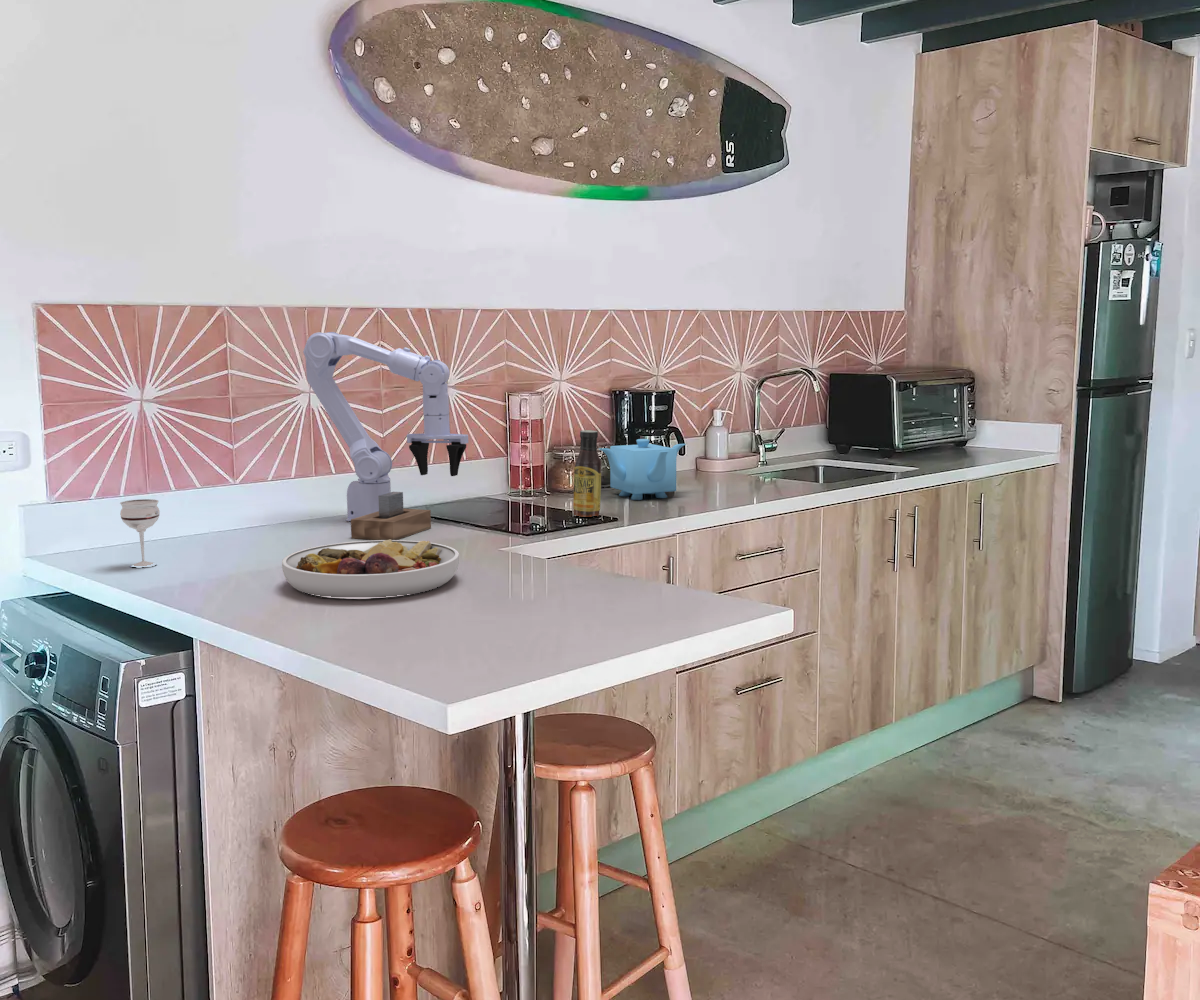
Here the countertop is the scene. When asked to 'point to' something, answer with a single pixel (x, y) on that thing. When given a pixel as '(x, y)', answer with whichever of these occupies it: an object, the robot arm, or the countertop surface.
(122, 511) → the wineglass
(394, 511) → the gray rectangular block
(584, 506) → the sauce bottle
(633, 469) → the teakettle
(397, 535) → the wooden slotted block
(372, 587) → the bowl
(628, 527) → the countertop surface
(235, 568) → the countertop surface
